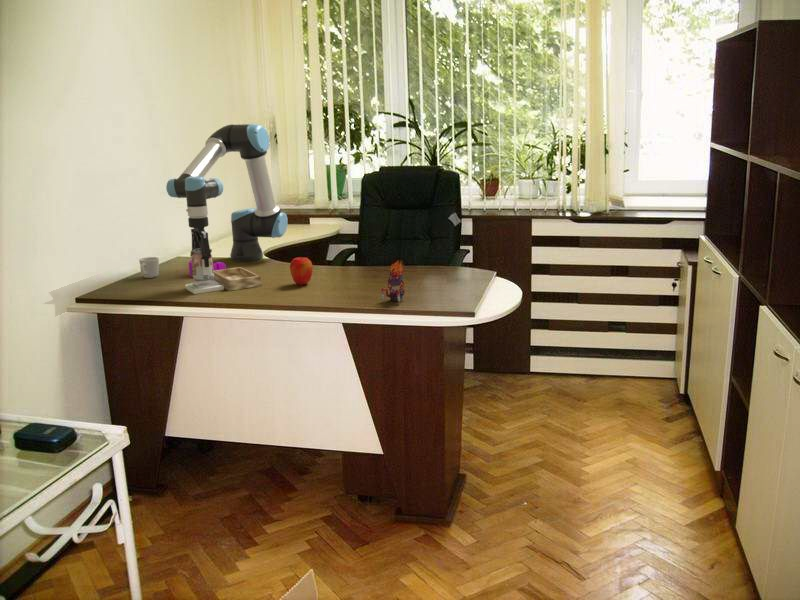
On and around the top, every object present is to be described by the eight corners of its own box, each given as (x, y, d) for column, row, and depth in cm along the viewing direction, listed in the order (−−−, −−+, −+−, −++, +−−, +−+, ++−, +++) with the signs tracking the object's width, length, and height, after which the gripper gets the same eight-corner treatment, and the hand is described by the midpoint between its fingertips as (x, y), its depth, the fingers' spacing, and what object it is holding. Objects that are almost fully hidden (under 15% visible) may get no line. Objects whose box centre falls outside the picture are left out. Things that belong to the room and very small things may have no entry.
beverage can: (190, 277, 317) (188, 248, 314) (212, 275, 320) (209, 246, 317) (194, 282, 308) (191, 252, 305) (216, 280, 311) (213, 250, 308)
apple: (298, 288, 312) (296, 258, 309) (286, 284, 319) (284, 255, 316) (317, 284, 318) (316, 255, 315) (306, 280, 325) (304, 252, 322)
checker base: (214, 284, 323) (213, 279, 323) (223, 289, 313) (223, 285, 313) (185, 288, 317) (184, 283, 317) (194, 294, 307) (193, 289, 307)
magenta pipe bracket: (185, 276, 340) (183, 261, 339) (203, 271, 348) (202, 257, 346) (209, 280, 331) (208, 265, 329) (227, 275, 339) (226, 261, 337)
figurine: (377, 303, 286) (376, 263, 283) (386, 297, 295) (385, 258, 291) (399, 305, 283) (398, 264, 280) (408, 299, 292) (407, 259, 288)
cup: (151, 280, 332) (149, 262, 330) (134, 280, 333) (132, 262, 331) (163, 275, 342) (162, 257, 340) (147, 274, 344) (145, 256, 342)
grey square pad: (210, 282, 320) (210, 279, 320) (217, 285, 313) (216, 283, 313) (191, 284, 316) (191, 282, 316) (197, 288, 309) (197, 286, 309)
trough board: (242, 275, 336) (242, 266, 335) (262, 285, 318) (261, 276, 317) (211, 280, 329) (210, 271, 328) (228, 290, 311) (228, 280, 310)
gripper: (180, 214, 315) (185, 269, 321) (197, 221, 297) (202, 279, 302) (198, 212, 319) (203, 266, 324) (216, 219, 301) (221, 276, 306)
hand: (203, 272), depth 313 cm, fingers closed on beverage can, 9 cm apart
